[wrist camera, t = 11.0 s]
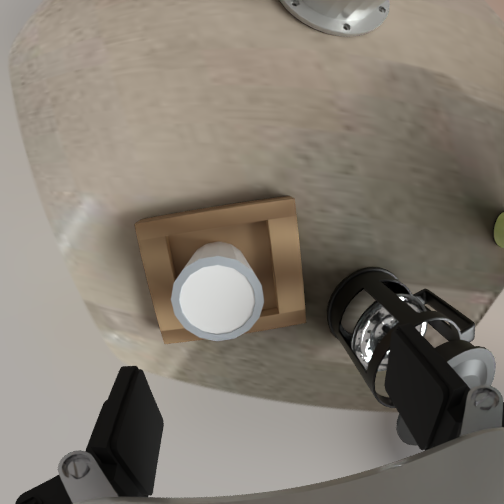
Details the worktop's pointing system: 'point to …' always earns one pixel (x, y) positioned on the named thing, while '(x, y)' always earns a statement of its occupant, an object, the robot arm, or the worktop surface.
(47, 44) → the worktop surface
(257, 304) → the white tapered cylinder
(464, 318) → the french press
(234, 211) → the tray
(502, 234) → the tube
